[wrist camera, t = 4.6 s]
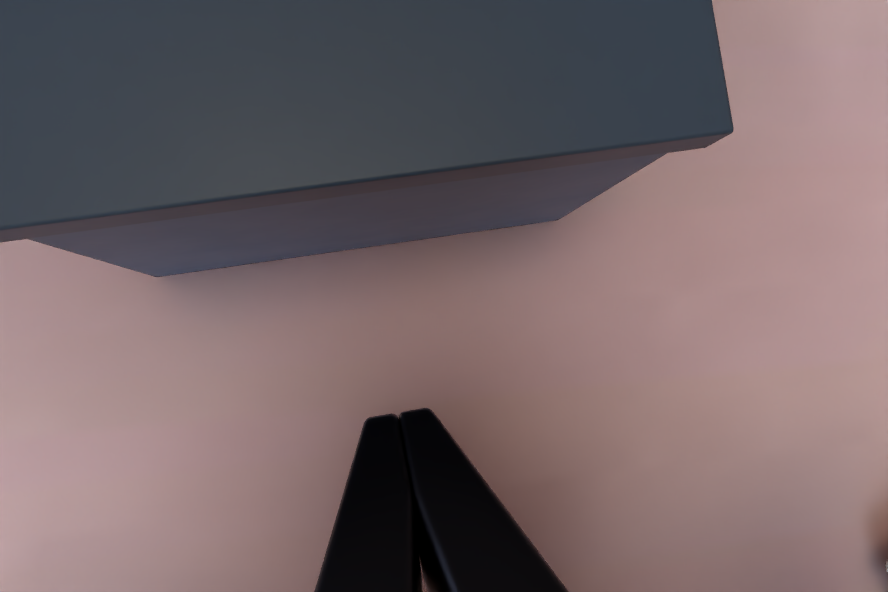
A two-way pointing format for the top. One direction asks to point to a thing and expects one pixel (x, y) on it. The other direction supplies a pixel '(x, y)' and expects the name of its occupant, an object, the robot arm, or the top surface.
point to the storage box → (334, 119)
